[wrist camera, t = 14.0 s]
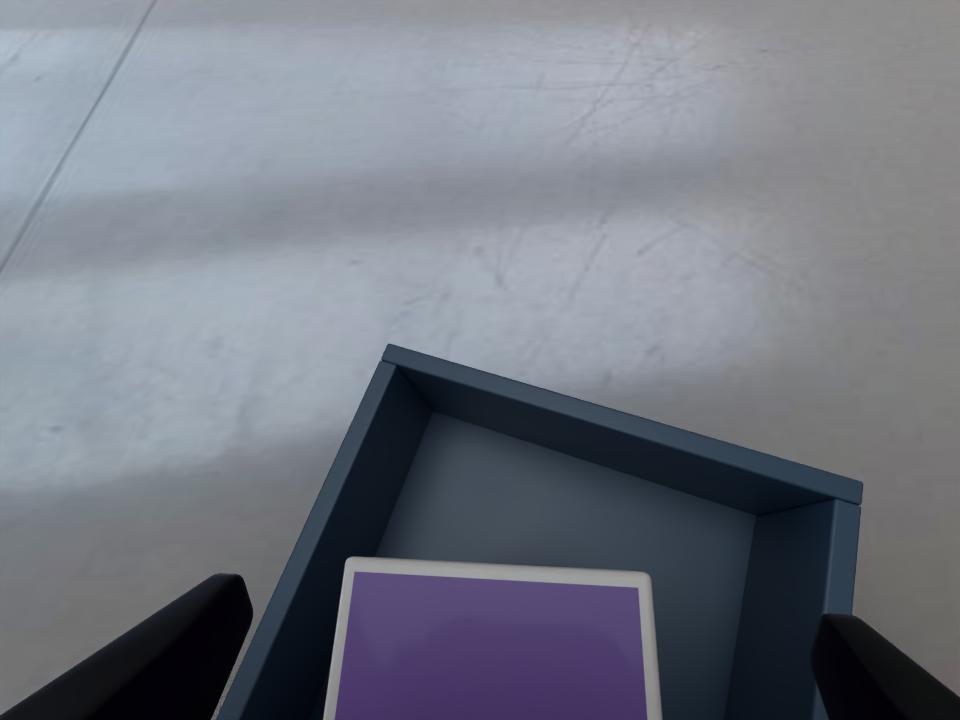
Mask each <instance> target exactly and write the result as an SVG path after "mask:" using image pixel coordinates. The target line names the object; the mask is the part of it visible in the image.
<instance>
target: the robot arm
mask: <svg viewBox="0 0 960 720" xmlns="http://www.w3.org/2000/svg"><path fill="white" fill-rule="evenodd" d="M252 618H253V608H252V604H251V601H250V598H249V595H248V592H247V588H246V585H245V582H244V580H243V578H242V577H241V576H240V575H238V574H226V573H218V574H215V575H213V576H211V577H209V578H208V579H206V580H205V581H203V582H202V583H200V584H199V585H197V586H196V587H194V588H193V589H191V590H190V591H188V592H187V593H185V594H184V595H182V596H180V597H179V598H177V599H176V600H174V601H173V602H171V603H170V604H168V605H167V606H165V607H164V608H162V609H161V610H159V611H158V612H156V613H155V614H153V615H152V616H150V617H149V618H147V619H146V620H144V621H143V622H141V623H140V624H138V625H137V626H135V627H134V628H132V629H130V630H129V631H127V632H126V633H124V634H123V635H121V636H120V637H118V638H117V639H115V640H114V641H112V642H111V643H109V644H108V645H106V646H105V647H103V648H102V649H100V650H99V651H97V652H96V653H94V654H93V655H91V656H90V657H88V658H87V659H85V660H83V661H82V662H80V663H79V664H77V665H76V666H74V667H73V668H71V669H70V670H68V671H67V672H65V673H64V674H62V675H61V676H59V677H58V678H56V679H55V680H53V681H52V682H50V683H49V684H47V685H46V686H44V687H43V688H41V689H40V690H38V691H37V692H35V693H33V694H32V695H30V696H29V697H27V698H26V699H24V700H23V701H21V702H20V703H18V704H17V705H15V706H14V707H12V708H11V709H9V710H8V711H6V712H5V713H3V714H2V715H0V720H211V718H212V716H213V714H214V711H215V709H216V707H217V705H218V702H219V700H220V697H221V695H222V693H223V690H224V688H225V685H226V683H227V681H228V678H229V676H230V673H231V671H232V669H233V666H234V664H235V661H236V659H237V657H238V654H239V652H240V650H241V647H242V645H243V642H244V640H245V638H246V635H247V633H248V630H249V628H250V625H251V622H252ZM810 665H811V670H812V673H813V676H814V679H815V681H816V684H817V687H818V690H819V693H820V696H821V699H822V702H823V704H824V707H825V710H826V713H827V716H828V719H829V720H960V697H959V696H957V695H956V694H955V693H954V692H952V691H951V690H950V689H948V688H947V687H946V686H945V685H943V684H942V683H941V682H940V681H938V680H937V679H936V678H935V677H933V676H932V675H931V674H930V673H928V672H927V671H926V670H924V669H923V668H922V667H921V666H919V665H918V664H917V663H916V662H914V661H913V660H912V659H911V658H909V657H908V656H907V655H905V654H904V653H903V652H902V651H900V650H899V649H898V648H897V647H895V646H894V645H893V644H892V643H890V642H889V641H888V640H887V639H885V638H884V637H883V636H881V635H880V634H879V633H878V632H876V631H875V630H874V629H873V628H871V627H870V626H869V625H868V624H866V623H865V622H864V621H862V620H861V619H859V618H858V617H856V616H853V615H846V614H831V613H826V614H823V615H822V616H821V617H820V619H819V621H818V624H817V628H816V631H815V635H814V638H813V642H812V645H811V649H810Z"/></svg>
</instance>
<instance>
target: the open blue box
mask: <svg viewBox="0 0 960 720" xmlns="http://www.w3.org/2000/svg"><path fill="white" fill-rule="evenodd" d="M381 360H382V361H380V362H379V364H378V366H377V368H376V371H375V373H374V375H373V377H372V379H371V381H370V384H369V386H368V388H367V390H366V392H365V395H364V397H363V399H362V401H361V403H360V405H359V408H358V410H357V412H356V414H355V416H354V419H353V421H352V423H351V425H350V427H349V429H348V432H347V434H346V436H345V438H344V440H343V443H342V445H341V447H340V449H339V451H338V454H337V456H336V458H335V460H334V462H333V464H332V467H331V469H330V471H329V473H328V475H327V478H326V480H325V482H324V484H323V486H322V488H321V491H320V493H319V495H318V497H317V499H316V502H315V504H314V506H313V508H312V510H311V512H310V515H309V517H308V519H307V521H306V523H305V526H304V528H303V530H302V532H301V534H300V537H299V539H298V541H297V543H296V545H295V547H294V550H293V552H292V554H291V556H290V558H289V561H288V563H287V565H286V567H285V569H284V571H283V574H282V576H281V578H280V580H279V582H278V585H277V587H276V589H275V591H274V593H273V595H272V598H271V600H270V602H269V604H268V606H267V609H266V611H265V613H264V615H263V617H262V620H261V622H260V624H259V626H258V628H257V630H256V633H255V635H254V637H253V639H252V641H251V644H250V646H249V648H248V650H247V652H246V654H245V657H244V659H243V661H242V663H241V665H240V668H239V670H238V672H237V674H236V676H235V678H234V681H233V683H232V685H231V687H230V689H229V692H228V694H227V696H226V698H225V700H224V703H223V705H222V707H221V709H220V711H219V713H218V716H217V718H216V720H323V717H324V710H325V703H326V696H327V689H328V682H329V675H330V667H331V660H332V653H333V646H334V639H335V632H336V625H337V618H338V611H339V604H340V597H341V590H342V583H343V576H344V569H345V563H346V560H347V559H348V558H350V557H380V558H400V559H419V560H439V561H458V562H477V563H503V564H522V565H542V566H561V567H576V568H591V569H610V570H628V571H639V572H645V573H647V574H649V576H650V578H651V580H652V592H653V605H654V617H655V630H656V642H657V655H658V668H659V680H660V693H661V706H662V718H663V720H829V719H828V716H827V713H826V710H825V707H824V704H823V702H822V699H821V696H820V693H819V690H818V687H817V684H816V681H815V679H814V676H813V673H812V670H811V665H810V649H811V645H812V642H813V638H814V635H815V631H816V628H817V624H818V621H819V619H820V617H821V616H822V615H823V614H826V613H831V614H846V615H852V606H853V595H854V583H855V572H856V561H857V549H858V538H859V526H860V515H861V507H860V506H858V505H860V504H861V503H862V492H863V483H862V482H860V481H857V480H854V479H851V478H847V477H844V476H840V475H837V474H834V473H830V472H827V471H823V470H820V469H816V468H813V467H810V466H806V465H803V464H799V463H796V462H793V461H789V460H786V459H782V458H779V457H775V456H772V455H769V454H765V453H762V452H758V451H755V450H751V449H748V448H745V447H741V446H738V445H734V444H731V443H728V442H724V441H721V440H717V439H714V438H710V437H707V436H704V435H700V434H697V433H693V432H690V431H686V430H683V429H680V428H676V427H673V426H669V425H666V424H663V423H659V422H656V421H652V420H649V419H645V418H642V417H639V416H635V415H632V414H628V413H625V412H621V411H618V410H615V409H611V408H608V407H604V406H601V405H598V404H594V403H591V402H587V401H584V400H580V399H577V398H574V397H570V396H567V395H563V394H560V393H557V392H553V391H550V390H546V389H543V388H539V387H536V386H533V385H529V384H526V383H522V382H519V381H515V380H512V379H509V378H505V377H502V376H498V375H495V374H492V373H488V372H485V371H481V370H478V369H474V368H471V367H468V366H464V365H461V364H457V363H454V362H450V361H447V360H444V359H440V358H437V357H433V356H430V355H427V354H423V353H420V352H416V351H413V350H409V349H406V348H403V347H399V346H396V345H392V344H388V345H387V347H386V349H385V351H384V353H383V356H382V358H381Z"/></svg>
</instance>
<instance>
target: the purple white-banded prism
mask: <svg viewBox="0 0 960 720" xmlns="http://www.w3.org/2000/svg"><path fill="white" fill-rule="evenodd" d="M323 720H663V718H662V706H661V693H660V680H659V668H658V655H657V642H656V630H655V617H654V605H653V592H652V580H651V578H650V576H649V574H647V573H645V572H639V571H628V570H610V569H591V568H576V567H561V566H542V565H522V564H503V563H477V562H458V561H439V560H419V559H400V558H380V557H350V558H348V559H347V560H346V563H345V569H344V576H343V583H342V590H341V597H340V604H339V611H338V618H337V625H336V632H335V639H334V646H333V653H332V660H331V667H330V675H329V682H328V689H327V696H326V703H325V710H324V717H323Z"/></svg>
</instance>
